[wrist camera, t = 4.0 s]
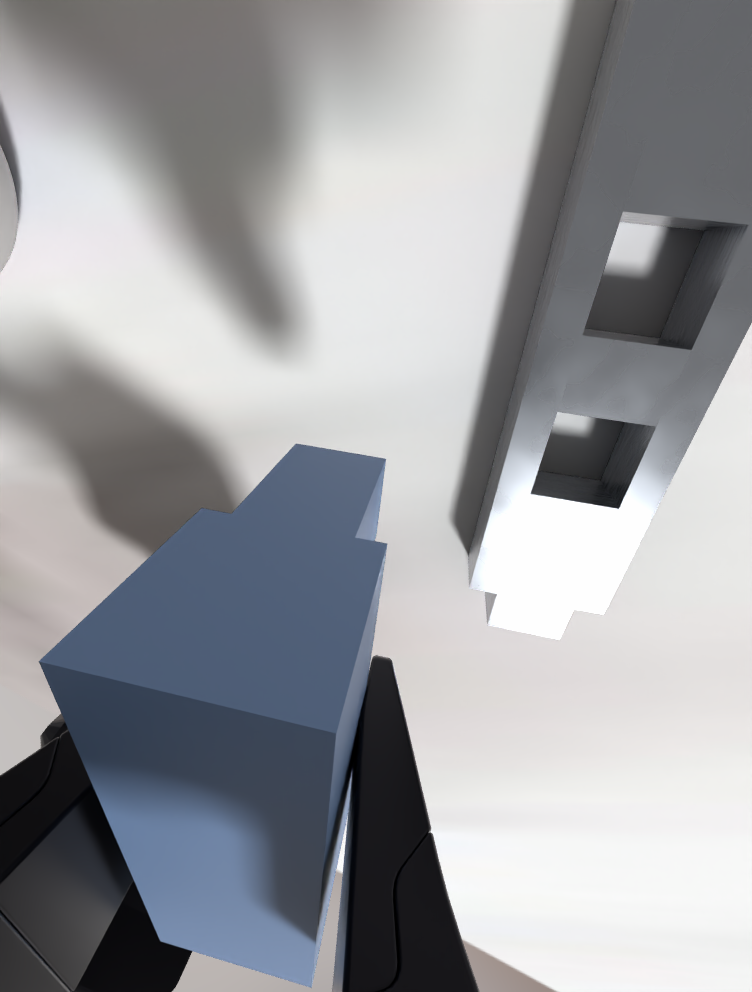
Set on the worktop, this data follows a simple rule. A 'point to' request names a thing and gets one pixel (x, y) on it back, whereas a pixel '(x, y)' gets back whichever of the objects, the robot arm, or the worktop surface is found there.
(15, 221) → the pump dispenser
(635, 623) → the worktop surface
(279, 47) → the worktop surface
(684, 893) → the worktop surface
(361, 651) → the blue notched pillar
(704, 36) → the rail
